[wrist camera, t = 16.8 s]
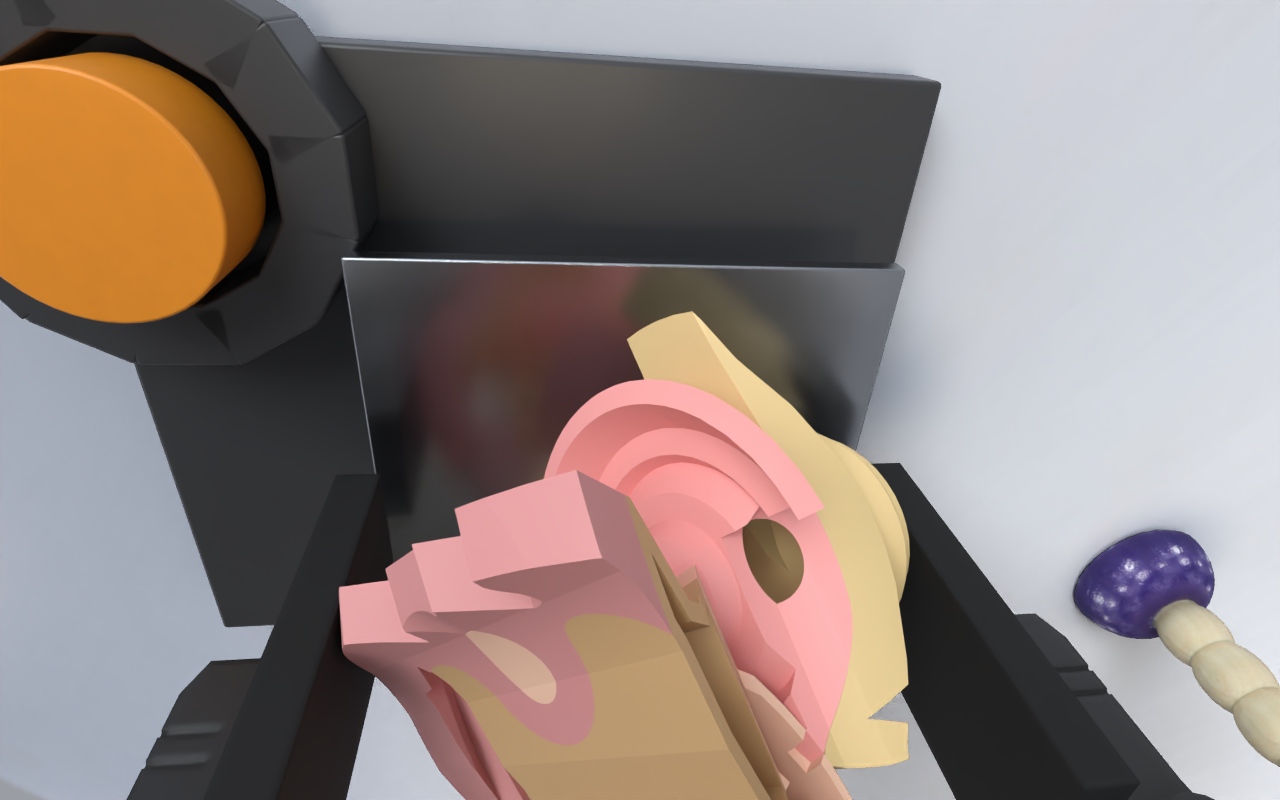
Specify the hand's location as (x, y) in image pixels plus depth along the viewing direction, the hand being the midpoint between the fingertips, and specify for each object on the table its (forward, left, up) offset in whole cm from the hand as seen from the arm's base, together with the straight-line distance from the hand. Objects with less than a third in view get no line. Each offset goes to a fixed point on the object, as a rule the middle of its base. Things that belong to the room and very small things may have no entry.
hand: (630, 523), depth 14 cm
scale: (-2, +1, -4) cm, 5 cm away
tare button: (-8, +6, -2) cm, 10 cm away
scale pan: (0, 0, -1) cm, 1 cm away
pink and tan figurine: (-1, 0, -1) cm, 1 cm away
